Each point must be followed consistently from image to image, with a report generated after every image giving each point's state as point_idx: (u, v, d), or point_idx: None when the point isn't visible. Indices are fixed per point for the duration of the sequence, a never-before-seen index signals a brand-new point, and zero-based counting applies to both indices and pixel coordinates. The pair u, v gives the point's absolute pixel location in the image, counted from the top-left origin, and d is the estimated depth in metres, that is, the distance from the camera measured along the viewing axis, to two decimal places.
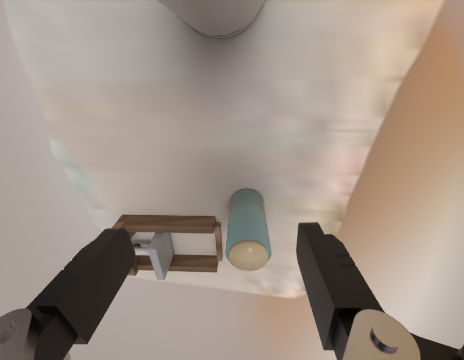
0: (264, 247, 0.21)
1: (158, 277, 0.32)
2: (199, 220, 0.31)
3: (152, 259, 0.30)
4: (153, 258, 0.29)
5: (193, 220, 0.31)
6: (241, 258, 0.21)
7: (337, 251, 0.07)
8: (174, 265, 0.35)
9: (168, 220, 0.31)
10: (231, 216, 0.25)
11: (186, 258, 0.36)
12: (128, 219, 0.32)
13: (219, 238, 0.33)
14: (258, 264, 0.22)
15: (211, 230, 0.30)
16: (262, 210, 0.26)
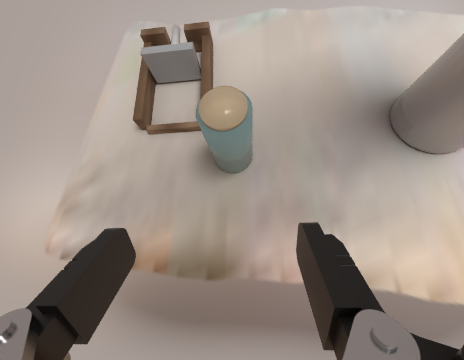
0: (238, 124, 0.17)
1: (145, 49, 0.27)
2: None
3: (175, 45, 0.26)
4: (177, 46, 0.26)
5: None
6: (222, 99, 0.17)
7: (337, 251, 0.07)
8: (147, 76, 0.29)
9: (211, 77, 0.29)
10: None
11: (151, 93, 0.30)
12: (211, 45, 0.31)
13: (183, 126, 0.27)
14: (211, 118, 0.17)
15: None
16: (244, 156, 0.22)
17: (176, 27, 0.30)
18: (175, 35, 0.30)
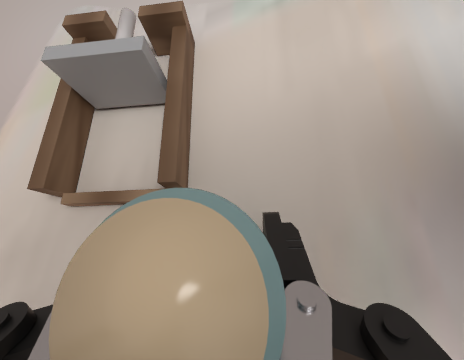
0: None
1: (51, 49, 0.13)
2: (184, 157, 0.15)
3: (110, 42, 0.13)
4: (113, 44, 0.13)
5: (185, 146, 0.15)
6: (157, 266, 0.04)
7: (291, 236, 0.08)
8: (70, 100, 0.16)
9: (187, 102, 0.16)
10: None
11: (81, 129, 0.17)
12: (190, 44, 0.18)
13: (130, 199, 0.14)
14: None
15: (166, 177, 0.13)
16: None
17: (126, 11, 0.17)
18: (123, 26, 0.16)
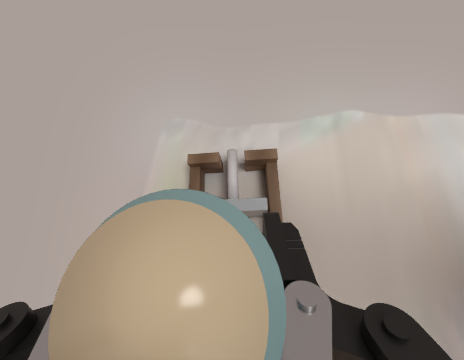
0: None
1: None
2: None
3: (244, 201, 0.20)
4: (246, 203, 0.19)
5: None
6: (156, 268, 0.04)
7: (291, 236, 0.08)
8: None
9: None
10: None
11: None
12: None
13: None
14: None
15: None
16: None
17: (233, 152, 0.23)
18: (234, 166, 0.23)
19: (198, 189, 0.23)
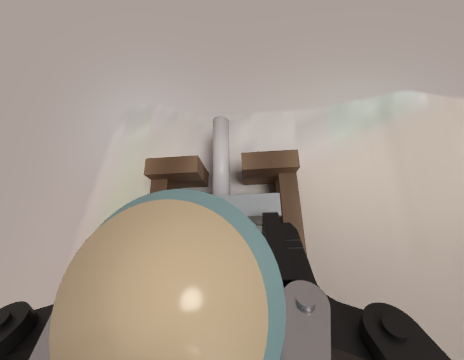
0: None
1: None
2: None
3: (237, 199, 0.11)
4: (242, 203, 0.11)
5: None
6: (156, 267, 0.04)
7: (290, 236, 0.08)
8: None
9: None
10: None
11: None
12: None
13: None
14: None
15: None
16: None
17: (222, 121, 0.15)
18: (223, 143, 0.14)
19: None
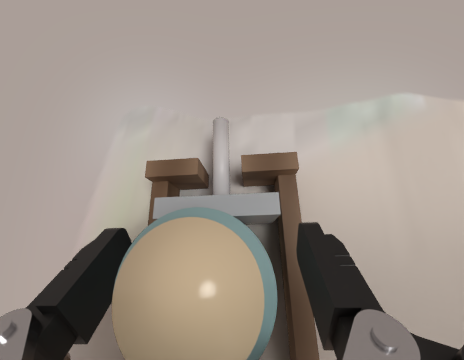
0: None
1: (162, 203, 0.11)
2: None
3: (237, 199, 0.11)
4: (242, 202, 0.11)
5: None
6: (185, 266, 0.06)
7: (337, 251, 0.07)
8: None
9: None
10: None
11: None
12: None
13: None
14: (146, 344, 0.05)
15: None
16: None
17: (222, 122, 0.15)
18: (223, 143, 0.14)
19: None
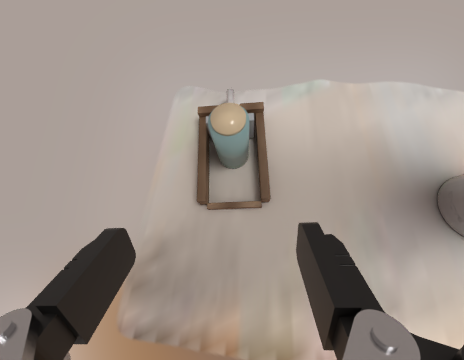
0: (239, 130, 0.23)
1: None
2: None
3: None
4: None
5: None
6: (227, 112, 0.24)
7: (337, 251, 0.07)
8: (206, 154, 0.31)
9: None
10: None
11: (208, 168, 0.32)
12: None
13: (243, 206, 0.29)
14: (219, 126, 0.23)
15: (266, 196, 0.28)
16: (243, 154, 0.29)
17: (231, 90, 0.33)
18: (231, 99, 0.32)
19: (205, 132, 0.32)
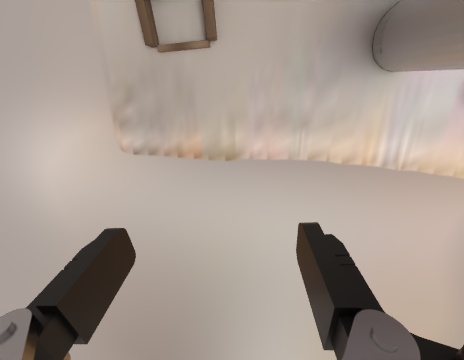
0: None
1: None
2: (214, 19, 0.29)
3: None
4: None
5: (213, 11, 0.28)
6: None
7: (337, 251, 0.07)
8: None
9: None
10: None
11: None
12: None
13: (192, 47, 0.30)
14: None
15: (210, 35, 0.28)
16: None
17: None
18: None
19: None
